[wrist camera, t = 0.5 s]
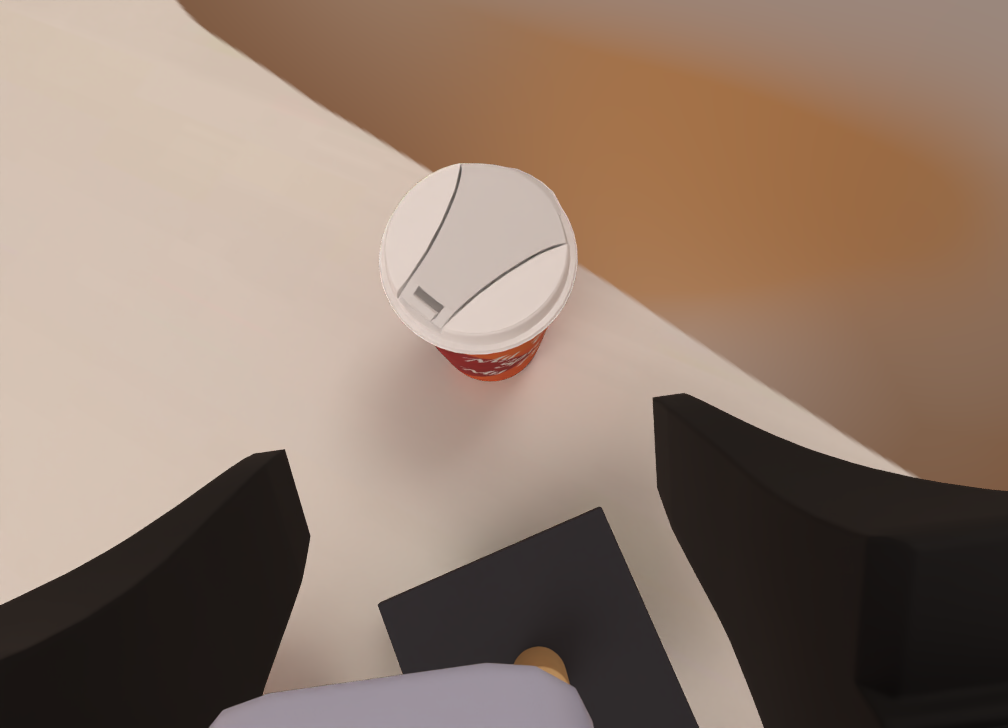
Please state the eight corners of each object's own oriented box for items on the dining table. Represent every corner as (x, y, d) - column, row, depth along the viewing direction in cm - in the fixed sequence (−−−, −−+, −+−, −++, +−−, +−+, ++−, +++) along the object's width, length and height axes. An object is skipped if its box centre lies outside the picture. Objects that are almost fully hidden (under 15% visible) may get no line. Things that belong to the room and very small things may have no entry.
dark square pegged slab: (705, 744, 29) (734, 784, 25) (471, 852, 28) (464, 911, 24) (599, 506, 31) (611, 508, 27) (380, 602, 30) (359, 618, 26)
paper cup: (500, 428, 37) (489, 390, 23) (397, 343, 38) (328, 259, 24) (586, 323, 38) (625, 227, 24) (483, 244, 39) (465, 108, 25)
